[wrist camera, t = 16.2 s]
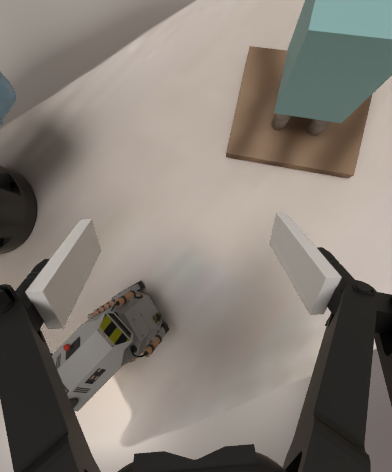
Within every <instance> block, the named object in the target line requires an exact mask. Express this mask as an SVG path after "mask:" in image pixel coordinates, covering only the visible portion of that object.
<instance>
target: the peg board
mask: <svg viewBox="0 0 392 472" xmlns="http://www.w3.org/2000/svg"><path fill="white" fill-rule="evenodd" d="M286 56H287V51H285V50H277V49H268V48H259V47H251V46H250V47H249V52H248V56H247V61H246V65H245V70H244V75H243V79H242V84H241V88H240V93H239V98H238V102H237V107H236V111H235V116H234V121H233V125H232V130H231V134H230V139H229V144H228V148H227V153H226V157H230V158H235V159H241V160H247V161H253V162H258V163H264V164H270V165H275V166H281V167H287V168H293V169H298V170H304V171H310V172H316V173H321V174H327V175H333V176H338V177H344V178H349V177H351V176H353V175H354V172H355V168H356V163H357V159H358V154H359V150H360V146H361V141H362V137H363V132H364V128H365V124H366V119H367V115H368V111H369V106H370V102H371V97H372V95H371V96H370V97H368V98H367V99H366V100H365V101H364V102H363V103H362V104H361V105H360V106H359V107H358V108H357V109H356V110H355V111H354V112H353V113H352V114H351V115H350V116H349V117H347V118H346V119H345V120H344V121H343V122H342V123H336V122H329V121H323V120H316V119H310V118H303V117H296V116H290V115H283V114H277V113H274V109H275V105H276V100H277V96H278V91H279V87H280V82H281V78H282V74H283V69H284V65H285V60H286Z"/></svg>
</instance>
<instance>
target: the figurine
mask: <svg viewBox="0 0 392 472" xmlns="http://www.w3.org/2000/svg"><path fill="white" fill-rule="evenodd" d="M144 287H145V286H144V285H143V283H142V281H139V282H138V283H136V284H134V285H133V286H131V287H129V288H128V289H126V290H124V291H122V292H121V293H119V294H118V295H116V296H114V297H113V298H112V300H111V301H109V302H108V303H106V304H104V305H103V306H101V307H99V308H98V309H97V310H94V312H93V313H91V314H88V318H89V320H88V321H87V322H86V323H83V324H82V325H81V326H80V327H79V328H78V329H77V330H76V331H75V332H74V333H73V334H72V335H71V336H70V337H69V338H68V339H67V340H66V341H65V342H64V343H63V345H62V346H61V347H60V348H59V349H58V350H57V351H56V352H55V353H54V354H52V353H51V356H52V358H53V361H54V363H55V366H56V368H57V370H58V373H59V375H60V378H61V380H62V383H63V385H64V388H65V390H66V393H67V395H68V397H69V400H70V402H71V405H72V407H73V410H74V411H79V410H80V409H81V408H82V407H83V405H85V403H86V402H87V401H88V400H89V399H90V398H91V397H92V396H93V395H94V394H95V393H96V392H97V391H98V390H99V389H100V388H101V387H102V386H103V385H104V384H105V383H106V382H107V381H108V380H109V379H110V378H111V377H112V376H113V375H114V374H115V373H116V372H117V371H118V370H119V369H120V367H122V366H123V365H124V364H126V363H128V362H132V361H134V360H135V359H136V358H138V357H143V356H145V357H149V356H150V355H151V354H152V353H153V351H154V349H155V348H156V347H157V346H158V344H160V342H161V341H162V337H163V336H164V334H165V333H167V332H168V330H169V328H168V326H167V325H166V323H164V324H162V325H161V322H162V317H161V315H160V313H159V312H158V310H157V309H156V307H155V305H154V304H153V302H152V300H151V298H150V297H149V295H146V294H143V293H140V292H137V291H139V290H141V289H142V288H144ZM142 352H143V355H141V356H139V355H140V354H141V353H142Z"/></svg>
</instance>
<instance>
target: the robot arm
mask: <svg viewBox="0 0 392 472" xmlns="http://www.w3.org/2000/svg"><path fill="white" fill-rule="evenodd" d="M15 99H16V95H15V91H14V88H13V86H12V85H11V83H10V82H9V81H8V80H7V79H6V78H5V77H4V75H3V74H2V73H1V72H0V126H1V125H2V123H3V122H2V120H3V118H4V117H5V116H6V114H7V113H8V112H9V110H10V109H11V108H12V106H13V105H14V103H15ZM36 213H37V205H36V199H35V195H34V192H33V190H32V188H31V186H30V184H29V183H28V182H27V180H26V179H25V178H24V177H23V176H22V175H21V174H19V173H18V172H16V171H14V170H12V169H9V168H6V167H3V166H0V253H5V252H9V251H11V250H13V249H15V248H17V247H18V246H20V245H21V244H22V243H23V242H24V241H25V240H26V239H27V237H28V236H29V235H30V233H31V231H32V229H33V226H34V223H35V220H36ZM270 246H271V247H272V249H273V251H274V253H275V254H276V256H277V258H278V260H279V261H280V263H281V265H282V267H283V268H284V270H285V272H286V274H287V275H288V277H289V279H290V281H291V282H292V284H293V286H294V288H295V289H296V291H297V293H298V295H299V296H300V298H301V300H302V302H303V303H304V305H305V307H306V309H307V310H308V312H309V314H310V315H315V314H324V312H325V310H326V308H327V307H328V308H329V310H330V311H331V315H330V317H329V318H328V320H327V322H326V324H325V326H327V327H326V330H325V333H324V337H323V340H322V343H321V347H320V350H319V354H318V357H317V360H316V364H315V367H314V371H313V374H312V377H311V381H310V384H309V387H308V391H307V394H306V398H305V401H304V405H303V408H302V411H301V415H300V418H299V421H298V425H297V429H296V432H295V435H294V438H293V441H292V444H291V446H290V449H289V451H288V453H287V456H286V459H285V462H284V465H283V468H282V467H281V466H280V465H279V464H277V463H276V462H275V461H273V460H272V459H270V458H268V457H267V456H264V455H262V454H260V453H257V452H255V448H254V444H252V445H239V446H226V447H223V448H221V449H219V450H217V451H214V452H212V453H210V454H208V455H206V456H204V457H202V458H199V459H197V460H192V459H189V458H185V457H182V456H178V455H174V454H171V453H168V452H164V451H163V452H151V453H138V454H134V461H133V462H132V463H130V464H128V465H127V466H125V467H123V468H122V469H121V470H119V471H118V472H370V459H369V455H368V454H367V453H366V452H365V448H364V441H365V431H366V419H367V409H368V398H369V387H370V376H371V365H372V355H373V344H374V339H375V343H376V347H377V351H378V354H379V358H380V362H381V366H382V370H383V374H384V378H385V382H386V386H387V390H388V394H389V398H390V402H391V406H392V295H390V294H385V293H380V292H376V290H375V289H374V288H373V287H371V286H370V285H369V284H366V283H364V282H362V281H358V280H355V279H354V278H353V277H352V276H351V275H350V274H349V273H348V272H347V271H346V269H345V268H344V267H343V266H342V265H341V264H339V262H338V261H337V260H336V259H335V257H334V256H333V255H332V254H331V253H330V252H329V251H327V250H325V249H324V248H322V247H320V248H316V246H315V245H314V244H313V243H312V242H311V241H310V239H309V238H308V237H307V236H306V235H305V234H304V232H303V231H302V230H301V229H300V228H299V226H298V225H297V224H296V223H295V222H294V221H293V219H292V218H291V217H290V216H289V215H288V214H287V213H276V216H275V221H274V226H273V230H272V235H271V239H270ZM100 252H101V248H100V245H99V241H98V238H97V235H96V231H95V228H94V225H93V222H92V219H80V221H79V222H78V223H77V225H76V226H75V227H74V229H73V230H72V231H71V233H70V234H69V235H68V236H67V238H66V239H65V240H64V242H63V243H62V244H61V246H60V247H59V248H58V250H57V251H56V252H55V253H54V255H53V256H52V257H51V259H44V260H43V261H42V262H40V263H39V264H37V265H36V266H35V267H34V269H33V270H32V271H31V273H30V274H29V275H28V276H27V278H26V279H25V280H24V281H23V282H22V283H21V285H20V286H19V287H18V288H17V290H16V291H14V289H13V288H12V287H11V286H10V285H6V284H4V285H0V399H1V404H2V409H3V415H4V421H5V426H6V431H7V436H8V442H9V447H10V452H11V458H12V464H13V469H14V472H101V471H100V470H99V467H98V466H97V464H96V462H95V460H94V458H93V456H92V454H91V452H90V449H89V447H88V444H87V442H86V440H85V437H84V434H83V432H82V430H81V427H80V425H79V422H78V420H77V417H76V415H75V412H74V410H73V407H72V405H71V402H70V400H69V397H68V395H67V393H66V390H65V388H64V385H63V383H62V380H61V378H60V375H59V373H58V370H57V368H56V366H55V363H54V361H53V358H52V356H51V353H50V351H49V348H48V346H47V343H46V341H45V339H44V336H43V334H42V332H41V330H40V328H41V326H42V324H43V322H44V323H45V325H46V326H47V328H48V329H57V328H64V326H65V324H66V322H67V320H68V318H69V315H70V313H71V311H72V309H73V307H74V305H75V303H76V301H77V299H78V297H79V295H80V293H81V291H82V289H83V287H84V285H85V283H86V281H87V279H88V277H89V275H90V273H91V270H92V268H93V266H94V264H95V262H96V260H97V258H98V256H99V254H100Z"/></svg>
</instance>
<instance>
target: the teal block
mask: <svg viewBox="0 0 392 472" xmlns="http://www.w3.org/2000/svg"><path fill="white" fill-rule="evenodd" d="M391 76H392V0H305V2H304V5H303V8H302V11H301V14H300V17H299V19H298V22H297V25H296V28H295V31H294V33H293V36H292V39H291V42H290V45H289V48H288V51H287V56H286V60H285V65H284V69H283V74H282V78H281V82H280V87H279V91H278V96H277V100H276V105H275V109H274V113H277V114H283V115H290V116H296V117H303V118H310V119H316V120H323V121H329V122H336V123H342V122H343V121H344V120H345V119H346V118H347V117H349V116H350V115H351V114H352V113H353V112H354V111H355V110H356V109H357V108H358V107H359V106H360V105H361V104H362V103H363V102H364V101H365V100H366V99H367V98H368V97H370V96H371V95H372V94H373V93H374V92H375V91H376V90H377V89H378V88H379V87H380V86H381V85H382V84H383V83H384V82H385V81H386V80H387V79H388V78H389V77H391Z"/></svg>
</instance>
